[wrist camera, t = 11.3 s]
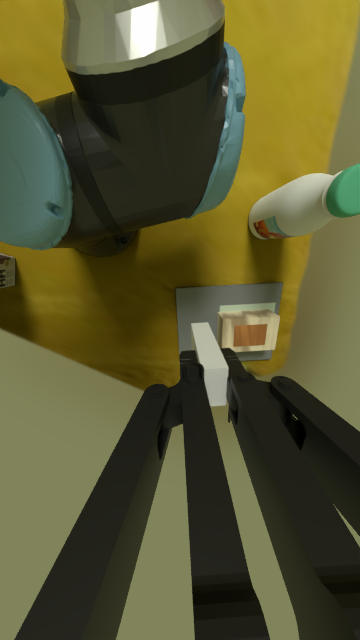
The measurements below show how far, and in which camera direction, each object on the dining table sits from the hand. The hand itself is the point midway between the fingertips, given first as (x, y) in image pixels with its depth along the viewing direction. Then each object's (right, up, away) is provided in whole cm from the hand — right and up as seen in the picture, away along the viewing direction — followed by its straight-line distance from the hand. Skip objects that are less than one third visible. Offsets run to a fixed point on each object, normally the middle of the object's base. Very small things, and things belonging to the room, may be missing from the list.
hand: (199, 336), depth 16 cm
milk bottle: (+16, +22, +21) cm, 34 cm away
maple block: (+7, -1, +26) cm, 27 cm away
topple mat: (+10, 0, +29) cm, 30 cm away
